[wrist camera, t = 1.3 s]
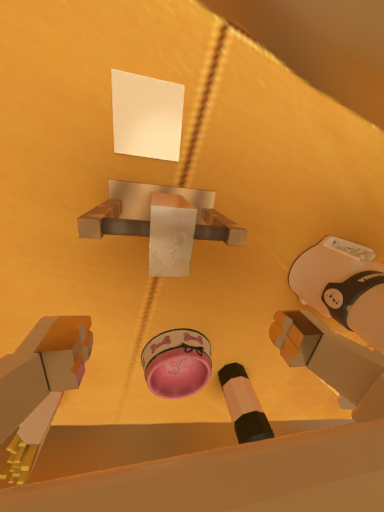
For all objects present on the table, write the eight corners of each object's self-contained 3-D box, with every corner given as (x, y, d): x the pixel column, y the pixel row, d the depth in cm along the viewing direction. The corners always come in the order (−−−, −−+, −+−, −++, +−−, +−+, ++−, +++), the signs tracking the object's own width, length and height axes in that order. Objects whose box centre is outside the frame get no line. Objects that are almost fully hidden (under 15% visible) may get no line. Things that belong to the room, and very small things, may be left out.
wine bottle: (247, 362, 57) (331, 534, 30) (238, 381, 60) (306, 552, 33) (222, 362, 55) (288, 546, 28) (214, 381, 58) (266, 564, 31)
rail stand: (213, 191, 35) (253, 204, 21) (207, 233, 38) (237, 268, 24) (109, 179, 31) (73, 185, 17) (112, 226, 34) (82, 264, 20)
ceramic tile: (184, 87, 28) (184, 85, 27) (178, 162, 32) (178, 161, 31) (112, 71, 26) (111, 68, 25) (115, 153, 30) (114, 152, 29)
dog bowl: (130, 371, 50) (127, 399, 44) (159, 319, 45) (160, 343, 39) (190, 381, 56) (195, 407, 50) (222, 337, 51) (231, 359, 45)
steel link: (180, 194, 27) (197, 209, 17) (176, 239, 30) (188, 276, 19) (152, 191, 27) (150, 205, 16) (150, 237, 29) (148, 276, 18)
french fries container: (43, 391, 47) (-15, 506, 31) (52, 361, 44) (-8, 472, 28) (64, 393, 49) (18, 503, 32) (73, 364, 45) (29, 470, 29)
